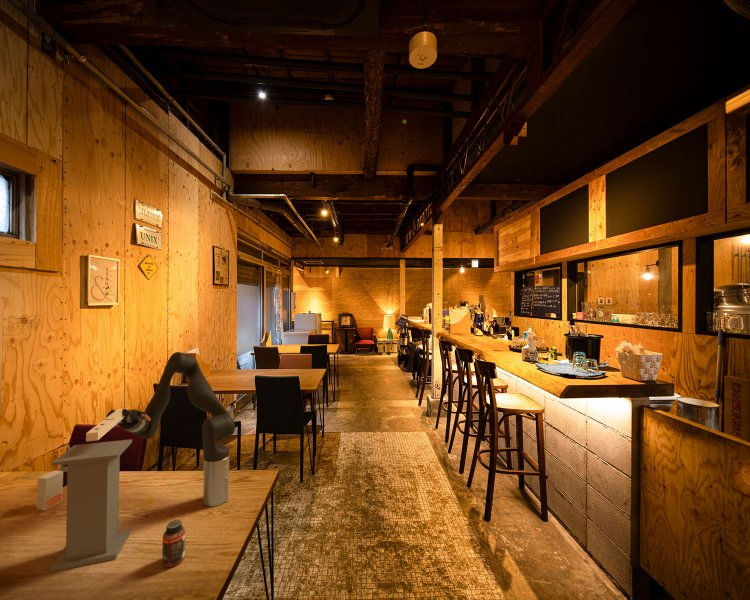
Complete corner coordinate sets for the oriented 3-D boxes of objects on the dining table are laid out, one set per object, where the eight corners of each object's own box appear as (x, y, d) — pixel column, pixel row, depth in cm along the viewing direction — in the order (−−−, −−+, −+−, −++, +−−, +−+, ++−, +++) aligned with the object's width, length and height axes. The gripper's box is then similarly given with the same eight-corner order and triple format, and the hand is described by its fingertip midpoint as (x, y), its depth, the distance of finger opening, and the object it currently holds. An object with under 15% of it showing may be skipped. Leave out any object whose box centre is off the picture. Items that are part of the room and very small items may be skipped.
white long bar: (127, 414, 126) (127, 407, 126) (97, 440, 103) (97, 431, 103) (118, 415, 125) (118, 408, 125) (86, 441, 102) (86, 433, 102)
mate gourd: (69, 488, 139) (69, 452, 139) (50, 487, 139) (51, 452, 139) (85, 478, 146) (85, 444, 146) (67, 478, 146) (68, 444, 146)
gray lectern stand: (130, 533, 113) (132, 439, 113) (115, 559, 101) (117, 454, 101) (72, 543, 107) (74, 445, 108) (49, 572, 96) (51, 462, 96)
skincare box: (44, 511, 124) (45, 479, 124) (36, 509, 124) (36, 477, 124) (63, 501, 130) (63, 471, 130) (54, 500, 130) (55, 469, 130)
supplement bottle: (189, 556, 103) (190, 519, 103) (172, 570, 97) (172, 532, 97) (175, 551, 105) (175, 515, 105) (157, 565, 99) (157, 527, 99)
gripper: (113, 413, 134) (96, 403, 120) (154, 410, 139) (142, 399, 124) (109, 432, 130) (91, 424, 116) (150, 428, 135) (138, 420, 121)
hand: (117, 412), depth 120 cm, fingers closed on white long bar, 3 cm apart
